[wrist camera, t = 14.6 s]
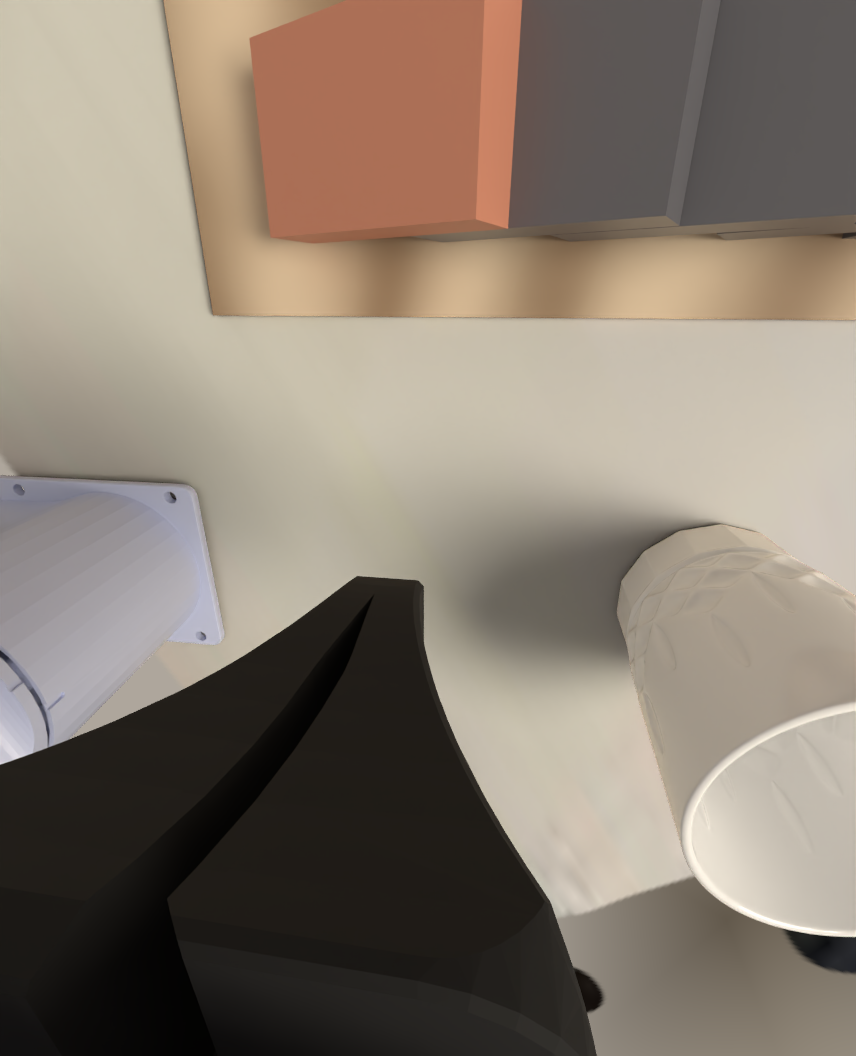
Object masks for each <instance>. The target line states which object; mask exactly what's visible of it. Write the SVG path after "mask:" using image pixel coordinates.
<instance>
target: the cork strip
mask: <svg viewBox="0 0 856 1056" xmlns="http://www.w3.org/2000/svg"><path fill="white" fill-rule="evenodd" d="M163 1H164V7H165V14H166V20H167V26H168V33H169V39H170V45H171V52H172V58H173V64H174V71H175V77H176V83H177V90H178V96H179V102H180V109H181V115H182V121H183V128H184V134H185V140H186V147H187V153H188V159H189V166H190V172H191V178H192V185H193V191H194V197H195V203H196V210H197V216H198V222H199V229H200V235H201V241H202V248H203V254H204V260H205V267H206V273H207V279H208V286H209V292H210V298H211V305H212V311H213V315H252V316H388V317H524V318H660V319H796V320H856V239H842V236H843V233H836V234H821V235H805V236H790V237H774V238H758V239H743V240H727V241H726V240H725V239H723V238H722V237H720V236H719V235H717V233H707V234H691V235H674V236H657V237H640V238H624V239H607V240H590V241H573V242H570V241H567V240H564V239H561V238H557V237H554V236H551V235H541V236H527V237H513V238H498V239H484V240H470V241H455V242H438V241H433V240H427V239H422V238H417V237H411V236H407V237H394V238H381V239H367V240H354V241H341V242H328V243H315V244H312V243H305V242H298V241H291V240H284V239H276V238H271V237H270V227H269V218H268V209H267V199H266V190H265V181H264V171H263V162H262V152H261V143H260V134H259V124H258V115H257V106H256V96H255V87H254V78H253V68H252V59H251V49H250V40H249V38H251V37H253V36H256V35H258V34H261V33H263V32H266V31H269V30H271V29H274V28H276V27H279V26H281V25H284V24H287V23H289V22H292V21H294V20H297V19H299V18H302V17H304V16H307V15H310V14H312V13H315V12H317V11H320V10H322V9H325V8H328V7H330V6H333V5H335V4H338V3H340V2H343V1H346V0H163Z"/></svg>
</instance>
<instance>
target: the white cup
mask: <svg viewBox="0 0 856 1056" xmlns="http://www.w3.org/2000/svg"><path fill="white" fill-rule="evenodd" d="M617 617H618V620H619V623H620V626H621V629H622V632H623V635H624V638H625V641H626V645H627V649H628V655H629V663H630V669H631V673H632V677H633V681H634V685H635V688H636V692H637V695H638V701H639V705H640V708H641V712H642V715H643V719H644V722H645V725H646V729H647V732H648V735H649V739H650V742H651V745H652V749H653V752H654V755H655V759H656V762H657V765H658V769H659V772H660V775H661V779H662V782H663V785H664V789H665V792H666V796H667V799H668V803H669V806H670V809H671V813H672V816H673V820H674V823H675V827H676V830H677V834H678V837H679V840H680V844H681V847H682V851H683V854H684V857H685V860H686V862H687V864H688V866H689V868H690V870H691V871H692V873H693V874H694V876H695V877H696V878H697V880H698V881H699V882H700V883H701V885H702V886H703V887H704V888H705V889H706V890H707V891H708V892H710V893H711V894H712V895H713V896H714V897H716V898H717V899H718V900H720V901H721V902H722V903H724V904H726V905H727V906H729V907H730V908H732V909H734V910H736V911H737V912H740V913H742V914H743V915H746V916H748V917H750V918H753V919H755V920H758V921H760V922H763V923H766V924H769V925H772V926H776V927H779V928H783V929H787V930H792V931H797V932H802V933H808V934H816V935H825V936H840V937H856V595H854V594H852V593H851V592H849V591H848V590H847V589H845V588H844V587H842V586H841V585H839V584H838V583H836V582H835V581H833V580H832V579H830V578H829V577H827V576H825V575H824V574H823V573H822V572H819V571H817V570H815V569H813V568H811V567H809V566H807V565H805V564H803V563H802V562H800V561H799V560H797V559H796V558H794V557H793V556H791V555H790V554H789V553H787V552H786V551H785V550H783V549H782V548H781V547H779V546H778V545H777V544H775V543H774V542H773V541H772V540H770V539H769V538H768V537H766V536H765V535H763V534H761V533H757V532H753V531H749V530H745V529H740V528H736V527H732V526H728V525H723V524H719V525H712V526H706V527H700V528H694V529H688V530H681V531H678V532H676V533H674V534H673V535H671V536H669V537H668V538H666V539H664V540H662V541H661V542H659V543H657V544H656V545H654V546H652V547H650V548H649V549H647V550H645V551H644V552H643V553H642V554H641V555H640V557H639V558H638V559H637V561H636V562H635V563H634V565H633V566H632V567H631V569H630V570H629V571H628V573H627V574H626V575H625V577H624V578H623V579H622V581H621V587H620V593H619V600H618V606H617Z"/></svg>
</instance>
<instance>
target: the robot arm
mask: <svg viewBox="0 0 856 1056" xmlns="http://www.w3.org/2000/svg"><path fill="white" fill-rule="evenodd" d="M21 486H22V487H23V488H24V490H25V491H24V490H23V489H22V487H21ZM170 492H172V493H173V494H174V495H175V496H176V500H174V499H173V498H172V497H171V495H170ZM201 632H203V633H204V634H205V635H206V636H205V635H203V634H202V633H201ZM224 635H225V633H224V628H223V623H222V618H221V613H220V608H219V603H218V598H217V593H216V587H215V582H214V577H213V572H212V567H211V562H210V557H209V552H208V547H207V542H206V537H205V532H204V526H203V521H202V516H201V511H200V506H199V501H198V496H197V493H196V491H195V490H194V489H193V488H192V487H191V486H189V485H186V484H172V483H151V482H130V481H109V480H88V479H67V478H46V477H25V476H4V475H1V476H0V1056H597V1055H596V1050H595V1045H594V1041H593V1036H592V1032H591V1028H590V1023H589V1019H588V1016H587V1012H586V1009H585V1005H584V1001H583V998H582V994H581V991H580V988H579V985H578V981H577V978H576V975H575V972H574V969H573V966H572V963H571V960H570V957H569V954H568V951H567V948H566V945H565V942H564V940H563V937H562V934H561V931H560V929H559V925H558V923H557V920H556V917H555V914H554V911H553V908H552V905H551V903H550V901H549V899H548V898H547V896H546V894H545V893H544V891H543V890H542V888H541V887H540V885H539V884H538V882H537V881H536V879H535V878H534V876H533V875H532V873H531V872H530V870H529V869H528V867H527V866H526V864H525V863H524V861H523V860H522V858H521V857H520V855H519V853H518V852H517V850H516V849H515V847H514V845H513V844H512V842H511V841H510V839H509V838H508V836H507V834H506V833H505V831H504V829H503V828H502V826H501V824H500V822H499V821H498V819H497V817H496V816H495V814H494V812H493V810H492V809H491V807H490V805H489V804H488V802H487V800H486V798H485V797H484V795H483V793H482V791H481V789H480V787H479V785H478V783H477V781H476V779H475V777H474V775H473V773H472V771H471V769H470V767H469V765H468V763H467V761H466V759H465V757H464V755H463V753H462V751H461V749H460V748H459V745H458V743H457V741H456V739H455V736H454V734H453V732H452V729H451V727H450V725H449V722H448V720H447V717H446V715H445V712H444V709H443V707H442V704H441V702H440V699H439V696H438V693H437V690H436V687H435V684H434V681H433V677H432V674H431V670H430V667H429V663H428V659H427V655H426V651H425V646H424V586H423V585H422V584H421V583H420V582H419V581H417V580H403V579H390V578H376V577H362V576H357V577H355V578H354V579H352V580H351V581H349V582H348V583H347V584H345V585H344V586H343V587H341V588H340V589H339V590H337V591H336V592H335V593H333V594H332V595H331V596H330V597H328V598H327V599H326V600H324V601H323V602H322V603H320V604H319V605H318V606H316V607H315V608H313V609H312V610H311V611H309V612H308V613H307V614H305V615H304V616H303V617H301V618H300V619H298V620H297V621H296V622H294V623H293V624H292V625H290V626H289V627H287V628H286V629H284V630H283V631H281V632H280V633H278V634H276V635H275V636H273V637H272V638H270V639H269V640H267V641H266V642H264V643H263V644H261V645H260V646H258V647H257V648H255V649H254V650H252V651H251V652H249V653H248V654H246V655H244V656H243V657H241V658H239V659H238V660H236V661H234V662H233V663H231V664H229V665H227V666H226V667H224V668H222V669H221V670H219V671H217V672H215V673H213V674H211V675H209V676H208V677H206V678H204V679H202V680H200V681H198V682H196V683H195V684H193V685H191V686H189V687H187V688H185V689H183V690H181V691H179V692H177V693H175V694H173V695H171V696H168V697H167V698H164V699H162V700H160V701H157V702H155V703H153V704H151V705H149V706H147V707H144V708H142V709H140V710H138V711H136V712H134V713H131V714H129V715H127V716H125V717H123V718H121V719H119V720H116V721H114V722H112V723H109V724H107V725H104V726H102V727H99V728H97V729H94V730H92V731H89V732H87V733H84V734H82V735H79V736H77V737H74V738H72V739H70V738H71V737H72V736H73V734H75V733H76V732H77V731H78V730H79V729H80V728H81V727H82V726H83V724H85V722H87V721H88V719H89V718H90V717H92V715H93V714H94V713H95V712H96V711H97V710H98V709H99V708H100V707H101V706H102V705H103V704H104V703H105V702H106V701H107V700H108V699H109V698H110V697H111V696H112V695H113V694H114V693H115V692H116V691H117V690H118V689H119V688H120V687H121V686H122V685H123V684H124V683H125V682H126V681H127V680H128V679H129V678H130V677H131V676H132V675H133V674H134V673H135V672H136V671H137V670H138V669H139V668H140V667H141V666H142V665H143V664H144V663H145V662H146V661H147V660H148V659H149V658H150V657H151V656H152V655H153V654H154V653H155V652H156V651H157V650H158V649H159V648H160V647H161V646H162V644H163V643H164V642H165V641H172V642H184V643H195V644H207V645H217V644H219V643H220V642H221V641H222V640H223V638H224Z"/></svg>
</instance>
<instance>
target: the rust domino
mask: <svg viewBox="0 0 856 1056" xmlns="http://www.w3.org/2000/svg"><path fill="white" fill-rule="evenodd" d="M521 11H522V0H346V1H343V2H340V3H338V4H335V5H333V6H330V7H328V8H325V9H322V10H320V11H317V12H315V13H312V14H310V15H307V16H304V17H302V18H299V19H297V20H294V21H292V22H289V23H287V24H284V25H281V26H279V27H276V28H274V29H271V30H269V31H266V32H263V33H261V34H258V35H256V36H253V37H251V38H249V40H250V49H251V59H252V68H253V78H254V87H255V96H256V106H257V115H258V124H259V134H260V143H261V152H262V162H263V171H264V181H265V190H266V199H267V209H268V218H269V227H270V237H271V238H276V239H284V240H291V241H298V242H305V243H312V244H315V243H328V242H341V241H354V240H367V239H381V238H394V237H407V236H420V235H433V234H446V233H459V232H472V231H485V230H499V229H508V220H509V204H510V188H511V172H512V156H513V140H514V124H515V108H516V92H517V76H518V60H519V43H520V27H521Z"/></svg>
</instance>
